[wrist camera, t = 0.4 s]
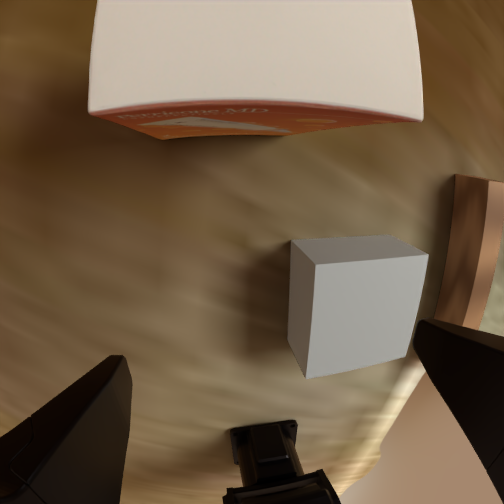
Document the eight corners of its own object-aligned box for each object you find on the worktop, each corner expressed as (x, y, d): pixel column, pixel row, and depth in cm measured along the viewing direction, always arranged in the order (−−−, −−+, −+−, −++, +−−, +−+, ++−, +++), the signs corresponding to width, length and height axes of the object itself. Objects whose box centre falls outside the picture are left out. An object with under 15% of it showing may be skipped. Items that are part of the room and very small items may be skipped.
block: (375, 324, 24) (405, 356, 20) (286, 338, 23) (305, 379, 19) (388, 233, 22) (428, 254, 17) (290, 239, 21) (315, 264, 16)
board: (443, 346, 27) (464, 366, 23) (423, 353, 27) (445, 374, 23) (475, 176, 21) (507, 183, 18) (455, 173, 21) (488, 180, 17)
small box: (159, 141, 17) (76, 119, 5) (160, 47, 15) (112, -85, 3) (290, 138, 18) (430, 125, 6) (288, 47, 16) (400, -59, 4)
